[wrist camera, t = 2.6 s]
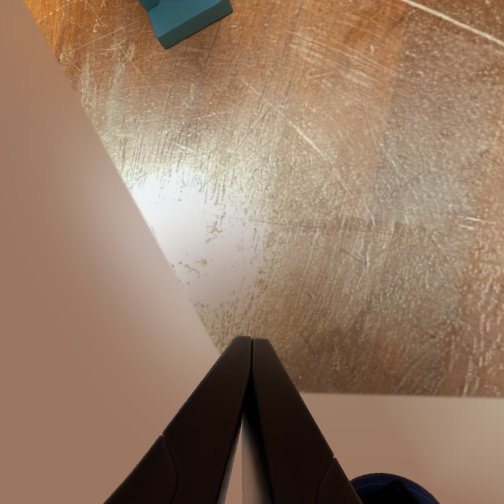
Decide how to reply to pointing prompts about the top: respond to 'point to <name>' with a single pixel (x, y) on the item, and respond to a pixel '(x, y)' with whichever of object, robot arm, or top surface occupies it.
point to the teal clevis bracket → (182, 17)
